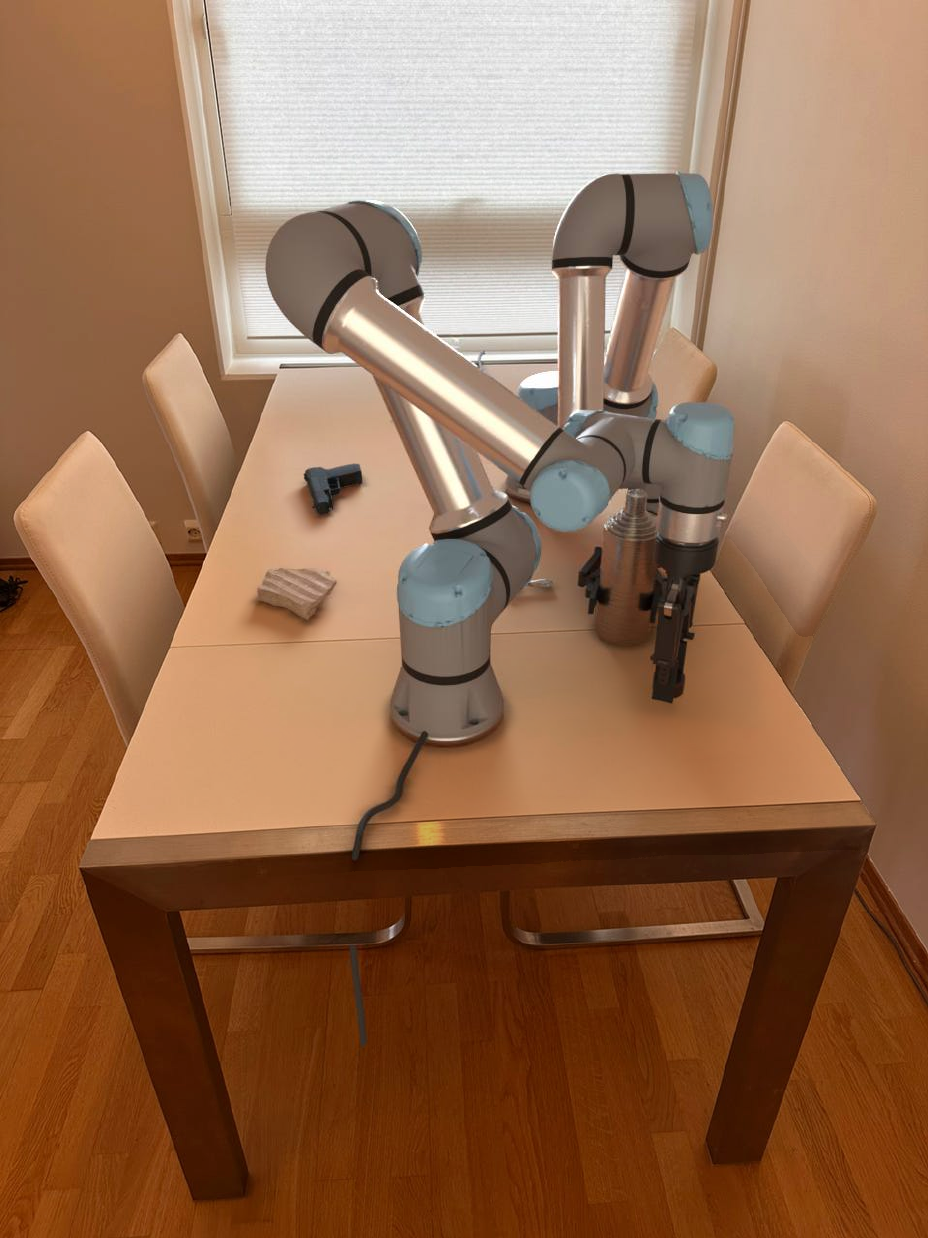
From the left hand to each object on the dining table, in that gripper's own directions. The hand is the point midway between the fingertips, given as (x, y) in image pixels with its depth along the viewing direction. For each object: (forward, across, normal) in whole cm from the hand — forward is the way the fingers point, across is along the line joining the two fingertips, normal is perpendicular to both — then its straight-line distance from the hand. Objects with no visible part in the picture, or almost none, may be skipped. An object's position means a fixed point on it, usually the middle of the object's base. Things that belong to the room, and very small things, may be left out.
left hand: (667, 689), depth 120 cm
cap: (-2, 0, 0) cm, 2 cm away
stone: (+2, +3, +62) cm, 62 cm away
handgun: (+2, +41, +78) cm, 89 cm away
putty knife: (+3, +22, +29) cm, 36 cm away
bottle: (+3, +16, +11) cm, 20 cm away
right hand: (-4, +12, +10) cm, 16 cm away
